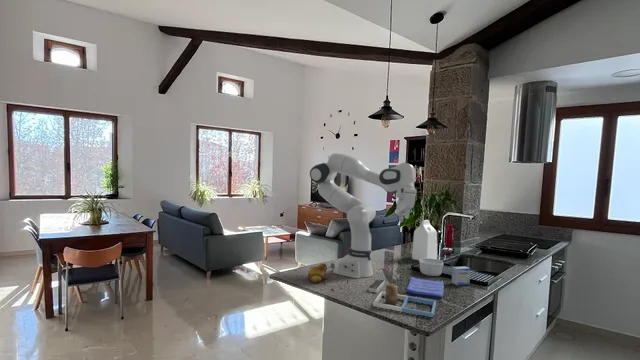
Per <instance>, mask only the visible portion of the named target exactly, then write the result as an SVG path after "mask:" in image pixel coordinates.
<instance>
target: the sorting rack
mask: <svg viewBox="0 0 640 360" xmlns="http://www.w3.org/2000/svg"><path fill="white" fill-rule="evenodd" d="M379 292H380V293H379V294H378V295H377V297H376V298H375V299H374V300H373V302H372V307H373V306H378V307H382V308H387V309H392V310H397V311H402V312H408V313H414V314H419V315H425V316H429V317H433V318H434V316H433V315H435V310H436V307H437V300H434V299H428V298H422V297H418V296H417V297H416V296H410V295H405V294H404V295H403V294H398V293H397V300H399V299H400V301H403V303H402V304H401V306H397V305H396V306H393V305H387V304H385V303H382V302H381V303H380V301H381V300H382V298H386V291H379ZM382 296H384V297H382ZM381 297H382V298H381ZM379 300H380V301H379ZM378 301H379V302H378ZM410 301H412V303H416V302H417V303H418V304H422V303H423V305H428V304H429V305H430V306H432V308H431V312H430V311H425V310H421V309H414V308H408V307H407V305H408V303H407V302H410ZM377 302H378V303H377ZM406 304H407V305H406ZM405 306H406V307H405Z"/></svg>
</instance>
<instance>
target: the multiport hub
mask: <svg viewBox="0 0 640 360" xmlns="http://www.w3.org/2000/svg"><path fill="white" fill-rule="evenodd" d="M384 286H385V280H383V279H375V280H374V282H372V284H371V285H370V286H369V287H368V291H371V292H370V293H372V292H376V293H375V294H378V293H379V292H380V290H381V289H382V288H383V287H384ZM378 291H379V292H378ZM377 292H378V293H377Z"/></svg>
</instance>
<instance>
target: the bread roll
mask: <svg viewBox="0 0 640 360" xmlns="http://www.w3.org/2000/svg"><path fill="white" fill-rule="evenodd" d="M327 270H328V265H327V264H326V263H320V264H319V265H316V266H312V267H310V268H309V270H308V273H307V278H308V280H309V281H311V282H312V283H314V282H315V284H318V282H319V283H321V282H322V281H324V280H325V279H326V275H327V274H326V273H327Z"/></svg>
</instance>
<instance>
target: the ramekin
mask: <svg viewBox="0 0 640 360" xmlns="http://www.w3.org/2000/svg"><path fill="white" fill-rule="evenodd" d="M418 261H419V262H418V264H419V270H420V272H421V274H422V275H426V276H430V277H437V276H438V277H439V276H441V275H442V272H443V266H444V262H443V260H439V259H438V258H437V259H431V258H424V259H420V260H418Z"/></svg>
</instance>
